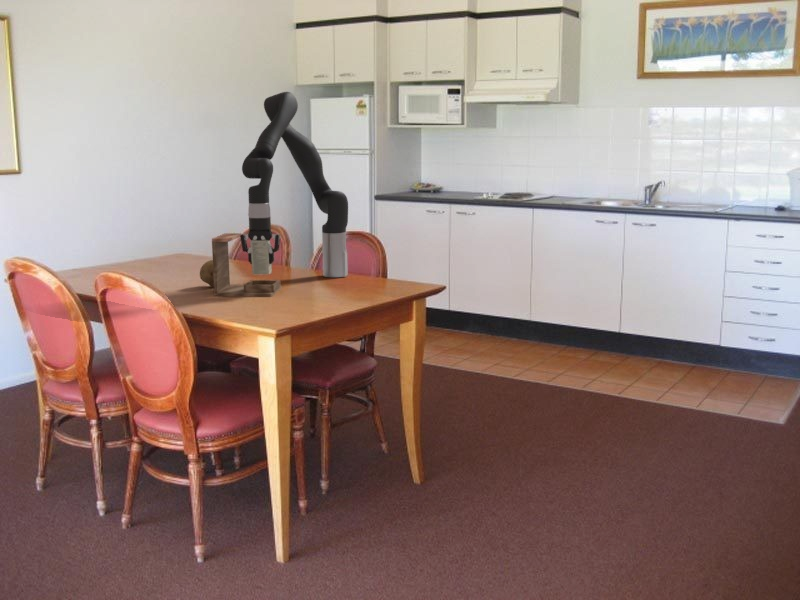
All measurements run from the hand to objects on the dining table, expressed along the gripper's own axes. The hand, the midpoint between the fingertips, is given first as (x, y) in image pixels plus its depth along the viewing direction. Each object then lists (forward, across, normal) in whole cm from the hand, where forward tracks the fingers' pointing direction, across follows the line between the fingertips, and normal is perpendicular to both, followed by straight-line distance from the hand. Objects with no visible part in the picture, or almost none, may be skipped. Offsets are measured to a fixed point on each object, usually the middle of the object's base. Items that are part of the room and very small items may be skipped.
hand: (261, 263), depth 311 cm
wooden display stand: (+10, +5, 0) cm, 11 cm away
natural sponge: (+11, +21, -10) cm, 25 cm away
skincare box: (+4, 0, 0) cm, 4 cm away
